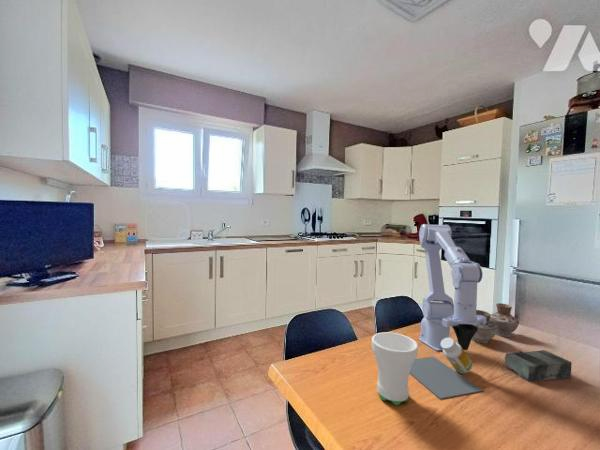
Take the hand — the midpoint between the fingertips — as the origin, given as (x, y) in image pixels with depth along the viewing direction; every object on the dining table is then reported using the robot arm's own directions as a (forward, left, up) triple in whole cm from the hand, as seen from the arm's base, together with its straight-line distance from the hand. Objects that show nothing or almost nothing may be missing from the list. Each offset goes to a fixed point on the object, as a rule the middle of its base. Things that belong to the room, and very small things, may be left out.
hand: (463, 348), depth 82 cm
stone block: (+5, +22, -8) cm, 24 cm away
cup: (+5, -27, -7) cm, 29 cm away
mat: (0, -9, -7) cm, 12 cm away
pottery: (-17, +32, -7) cm, 37 cm away
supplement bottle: (0, +1, -6) cm, 6 cm away
